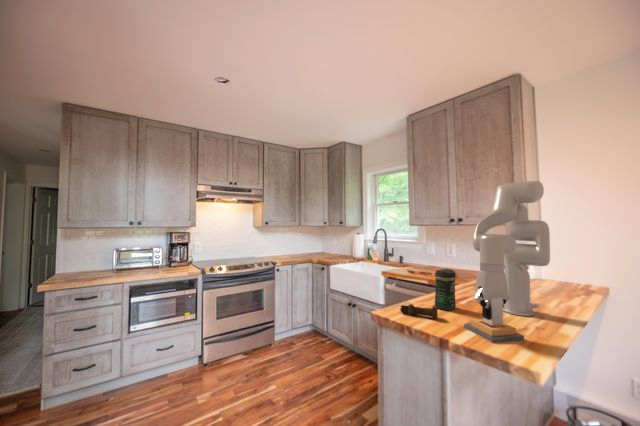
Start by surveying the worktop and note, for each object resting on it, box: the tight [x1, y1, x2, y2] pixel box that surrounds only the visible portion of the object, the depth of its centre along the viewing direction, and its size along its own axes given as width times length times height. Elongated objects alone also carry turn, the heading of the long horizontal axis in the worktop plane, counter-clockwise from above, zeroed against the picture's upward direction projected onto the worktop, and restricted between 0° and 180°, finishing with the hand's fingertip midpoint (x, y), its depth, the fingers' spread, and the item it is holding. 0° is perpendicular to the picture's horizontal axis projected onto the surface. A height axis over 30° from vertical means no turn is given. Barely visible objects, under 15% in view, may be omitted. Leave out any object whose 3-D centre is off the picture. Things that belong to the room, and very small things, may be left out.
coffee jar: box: [434, 268, 457, 311], centre depth 128 cm, size 10×8×19 cm
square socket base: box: [464, 318, 525, 343], centre depth 98 cm, size 13×13×4 cm
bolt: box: [399, 303, 438, 321], centre depth 117 cm, size 6×5×15 cm
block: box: [482, 298, 504, 327], centre depth 98 cm, size 4×4×10 cm
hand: (492, 317), depth 98 cm, fingers closed on block, 4 cm apart
